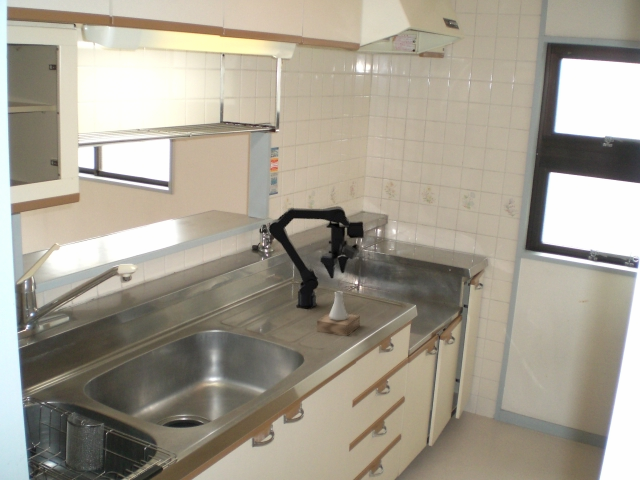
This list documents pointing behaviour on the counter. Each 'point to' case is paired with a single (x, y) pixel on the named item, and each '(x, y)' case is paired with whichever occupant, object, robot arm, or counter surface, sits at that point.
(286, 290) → the counter surface
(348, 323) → the walnut block
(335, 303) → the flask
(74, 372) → the counter surface
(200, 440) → the counter surface
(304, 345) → the counter surface
